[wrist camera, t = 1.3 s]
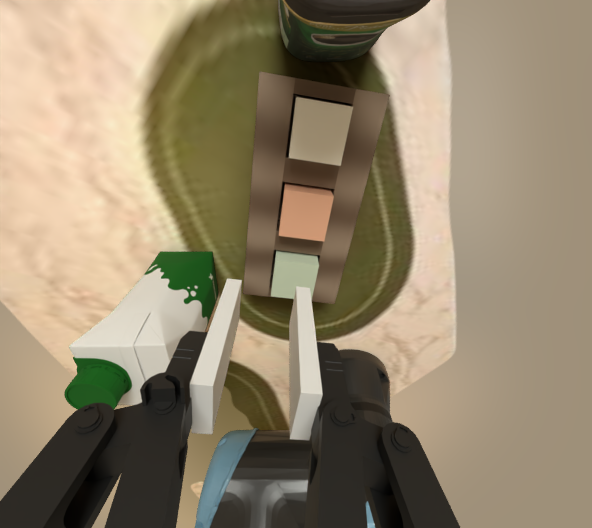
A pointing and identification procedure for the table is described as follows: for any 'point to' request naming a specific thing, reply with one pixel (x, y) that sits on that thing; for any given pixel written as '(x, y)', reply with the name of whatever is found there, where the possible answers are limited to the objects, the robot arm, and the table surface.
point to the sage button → (293, 273)
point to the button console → (306, 179)
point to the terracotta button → (305, 211)
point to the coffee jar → (339, 26)
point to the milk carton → (143, 330)
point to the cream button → (319, 131)
